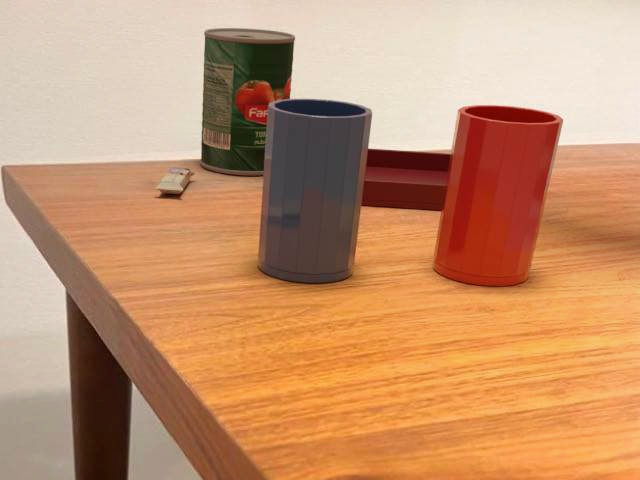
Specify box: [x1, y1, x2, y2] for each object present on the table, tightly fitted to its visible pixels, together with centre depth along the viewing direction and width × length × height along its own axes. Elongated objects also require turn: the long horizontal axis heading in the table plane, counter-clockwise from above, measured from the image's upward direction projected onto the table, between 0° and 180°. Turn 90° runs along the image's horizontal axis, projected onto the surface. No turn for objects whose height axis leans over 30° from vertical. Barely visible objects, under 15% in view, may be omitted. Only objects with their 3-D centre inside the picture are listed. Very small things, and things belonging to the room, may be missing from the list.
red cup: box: [432, 104, 564, 287], centre depth 64 cm, size 6×6×10 cm
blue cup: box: [257, 98, 373, 284], centre depth 63 cm, size 6×6×10 cm
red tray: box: [361, 147, 451, 211], centre depth 84 cm, size 15×13×2 cm
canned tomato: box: [199, 27, 296, 177], centre depth 87 cm, size 8×8×11 cm
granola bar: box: [154, 166, 196, 195], centre depth 81 cm, size 7×1×3 cm
